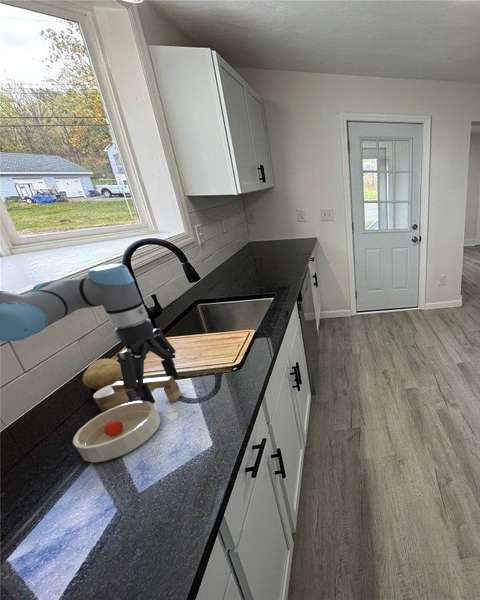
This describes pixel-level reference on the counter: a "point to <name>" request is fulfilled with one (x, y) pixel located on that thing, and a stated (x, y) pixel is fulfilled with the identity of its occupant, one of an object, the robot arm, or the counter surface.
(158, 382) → the ladle
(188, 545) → the counter surface
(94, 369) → the potato
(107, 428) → the tomato
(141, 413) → the bowl
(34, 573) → the counter surface
